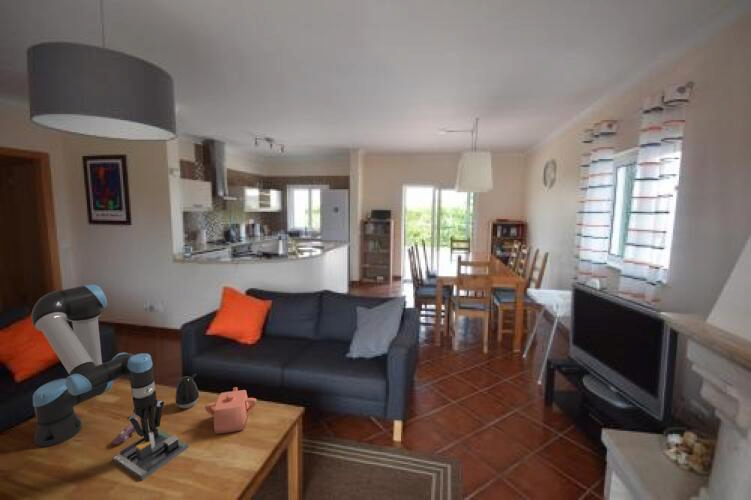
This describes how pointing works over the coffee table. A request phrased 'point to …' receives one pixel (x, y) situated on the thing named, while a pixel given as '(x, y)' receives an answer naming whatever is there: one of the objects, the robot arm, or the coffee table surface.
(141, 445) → the breaker
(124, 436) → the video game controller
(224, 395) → the teapot
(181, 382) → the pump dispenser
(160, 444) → the panel
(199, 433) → the coffee table surface
